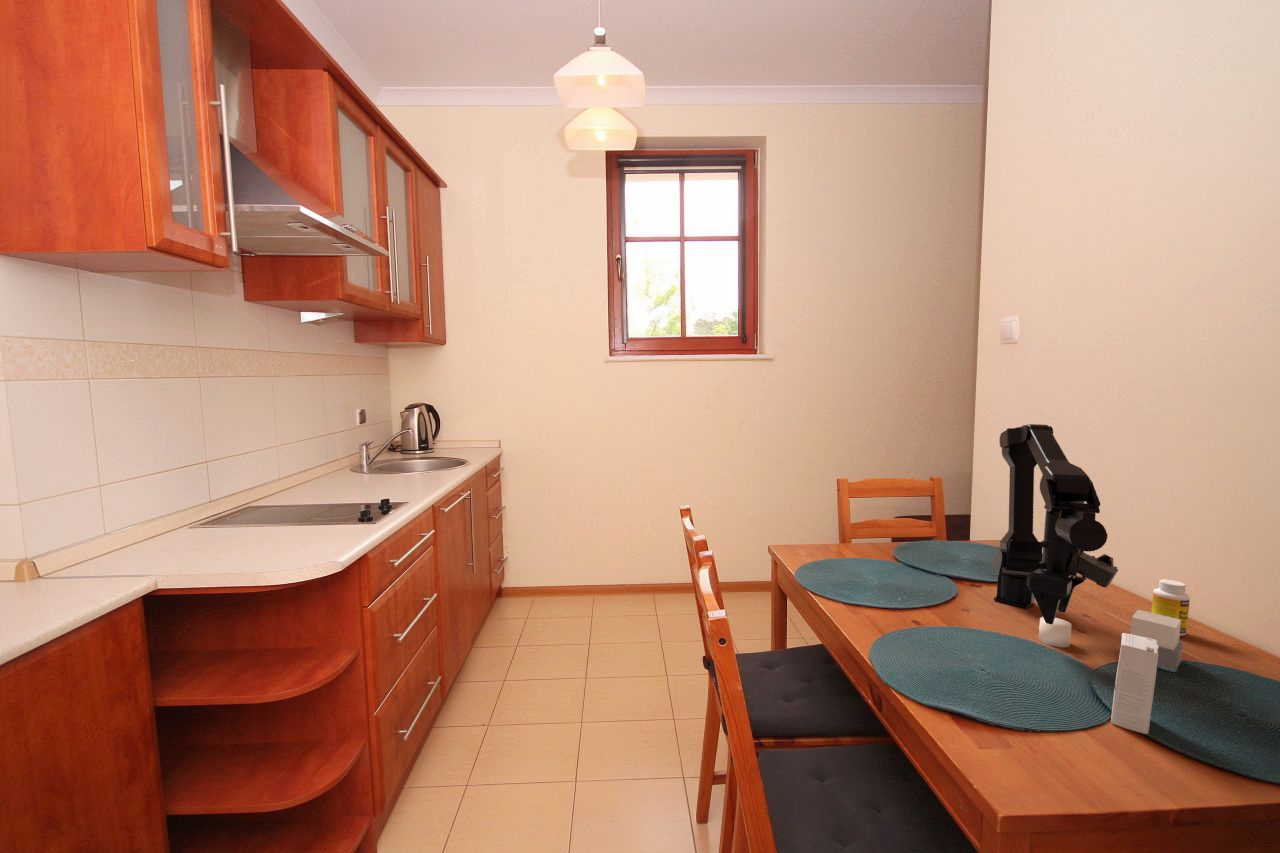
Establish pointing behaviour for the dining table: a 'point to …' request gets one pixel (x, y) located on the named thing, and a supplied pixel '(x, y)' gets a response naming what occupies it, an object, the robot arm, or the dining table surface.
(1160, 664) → the tower base
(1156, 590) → the supplement bottle
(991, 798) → the dining table surface
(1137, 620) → the tower top
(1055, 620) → the white rounded cylinder
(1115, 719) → the skincare box
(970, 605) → the dining table surface
